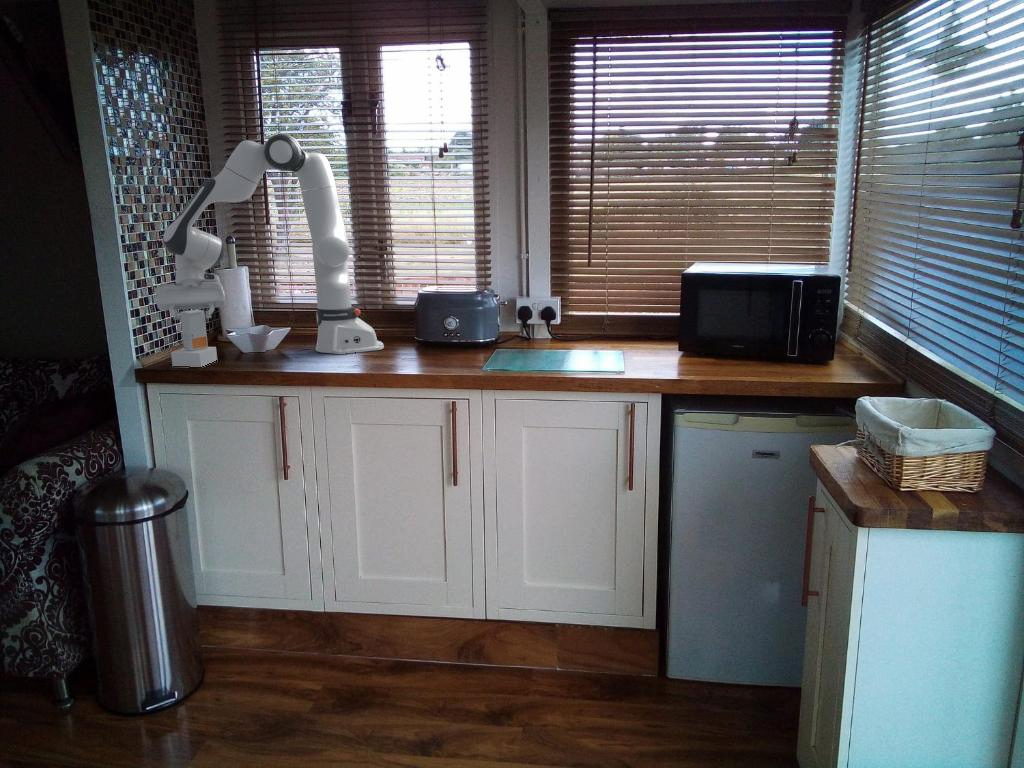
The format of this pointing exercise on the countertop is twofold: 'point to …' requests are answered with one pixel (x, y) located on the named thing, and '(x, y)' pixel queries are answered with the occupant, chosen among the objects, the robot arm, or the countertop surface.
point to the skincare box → (194, 330)
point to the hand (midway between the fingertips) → (192, 317)
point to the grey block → (194, 357)
